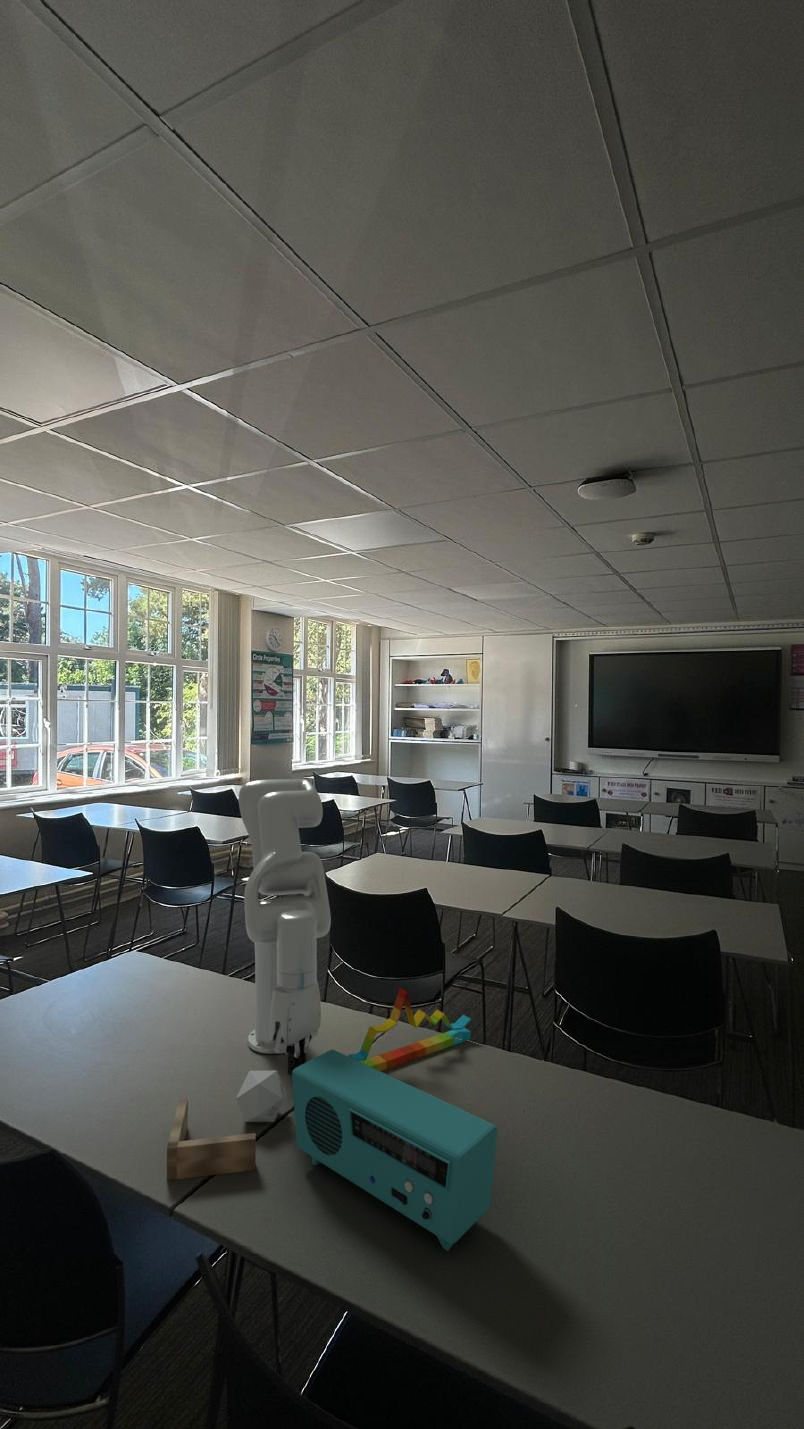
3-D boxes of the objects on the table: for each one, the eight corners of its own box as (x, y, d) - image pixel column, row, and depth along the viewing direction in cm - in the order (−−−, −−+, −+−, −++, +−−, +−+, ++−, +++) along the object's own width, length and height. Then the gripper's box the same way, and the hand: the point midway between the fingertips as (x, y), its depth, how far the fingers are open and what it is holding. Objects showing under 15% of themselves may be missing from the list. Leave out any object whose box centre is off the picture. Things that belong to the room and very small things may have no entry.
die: (261, 1142, 115) (293, 1088, 118) (220, 1112, 117) (253, 1059, 120) (269, 1131, 123) (299, 1080, 126) (231, 1103, 124) (261, 1054, 127)
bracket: (183, 1125, 119) (183, 1096, 119) (260, 1166, 108) (260, 1135, 108) (130, 1157, 110) (130, 1127, 110) (207, 1205, 99) (207, 1172, 99)
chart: (461, 1034, 154) (461, 968, 154) (470, 1039, 151) (471, 973, 151) (346, 1074, 136) (347, 1000, 136) (354, 1081, 134) (355, 1006, 134)
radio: (285, 1162, 109) (286, 1070, 109) (332, 1132, 117) (332, 1046, 117) (456, 1277, 87) (457, 1161, 87) (499, 1230, 95) (500, 1124, 95)
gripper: (308, 962, 137) (308, 1053, 136) (254, 985, 124) (253, 1086, 124) (337, 969, 133) (337, 1063, 132) (283, 994, 120) (283, 1098, 120)
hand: (296, 1074), depth 128 cm, fingers closed
